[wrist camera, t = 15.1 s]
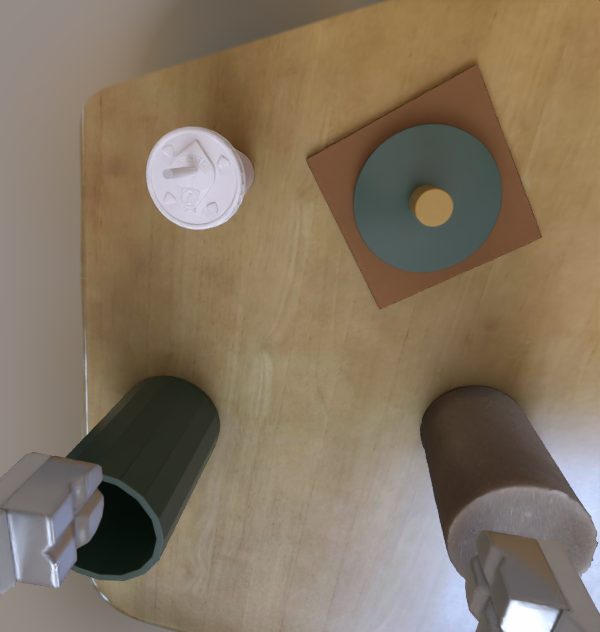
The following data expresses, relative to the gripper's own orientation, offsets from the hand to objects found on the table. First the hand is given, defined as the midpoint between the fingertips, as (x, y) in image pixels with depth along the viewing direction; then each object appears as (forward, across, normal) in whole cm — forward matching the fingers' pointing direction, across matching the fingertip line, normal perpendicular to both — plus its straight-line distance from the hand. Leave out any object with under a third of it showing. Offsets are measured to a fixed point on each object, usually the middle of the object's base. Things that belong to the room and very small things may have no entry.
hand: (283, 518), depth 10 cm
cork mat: (+31, -6, -4) cm, 32 cm away
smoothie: (+32, +9, -4) cm, 33 cm away
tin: (+31, +14, +21) cm, 40 cm away
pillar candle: (+31, -16, +16) cm, 38 cm away
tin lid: (+30, -7, -4) cm, 31 cm away
